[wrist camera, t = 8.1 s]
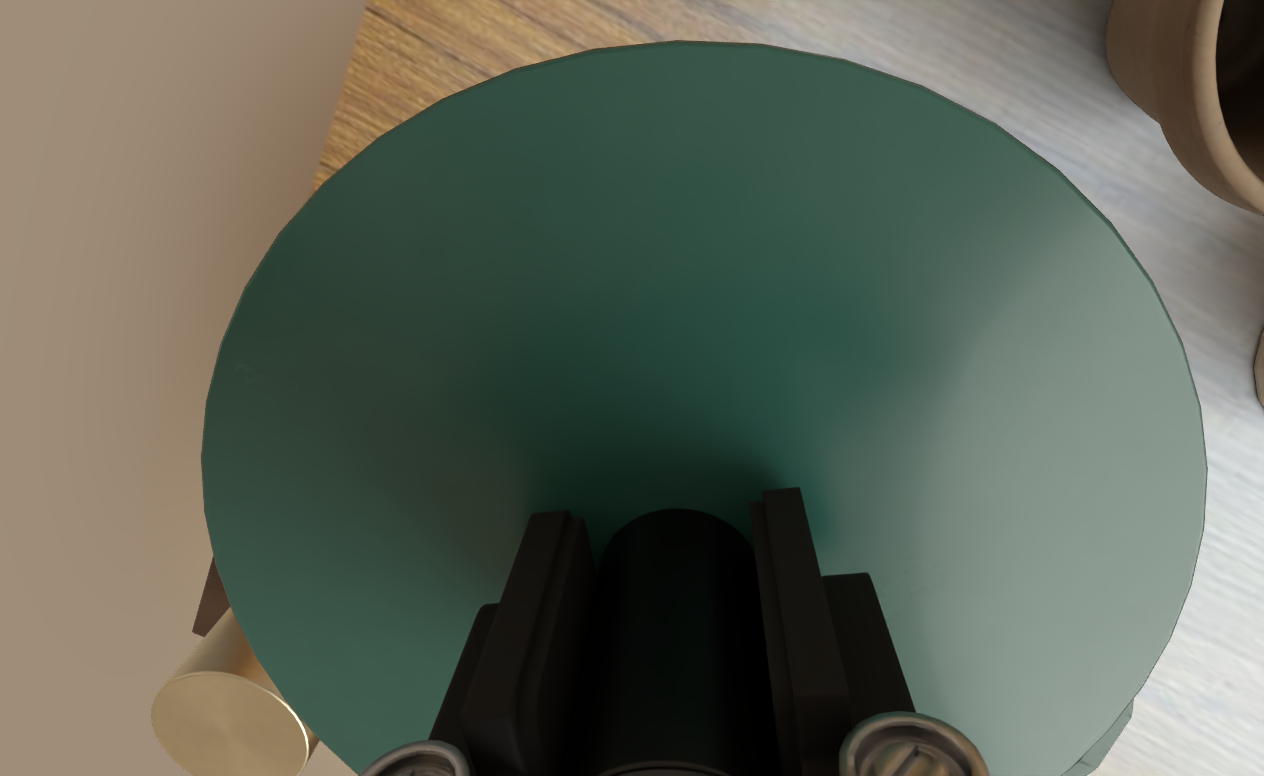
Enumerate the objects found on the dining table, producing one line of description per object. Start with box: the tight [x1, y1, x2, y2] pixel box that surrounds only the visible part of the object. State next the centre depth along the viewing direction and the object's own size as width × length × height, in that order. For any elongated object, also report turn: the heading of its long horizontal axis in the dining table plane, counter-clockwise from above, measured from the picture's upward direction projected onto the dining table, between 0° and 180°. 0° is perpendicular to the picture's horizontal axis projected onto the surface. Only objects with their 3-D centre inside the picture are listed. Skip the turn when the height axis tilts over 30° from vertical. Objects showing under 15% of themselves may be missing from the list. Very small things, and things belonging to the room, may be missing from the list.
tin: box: [151, 607, 319, 776], centre depth 24 cm, size 4×4×6 cm
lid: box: [201, 40, 1208, 776], centre depth 10 cm, size 15×15×6 cm
